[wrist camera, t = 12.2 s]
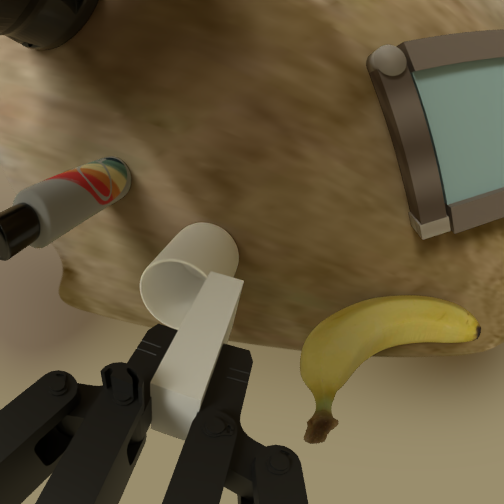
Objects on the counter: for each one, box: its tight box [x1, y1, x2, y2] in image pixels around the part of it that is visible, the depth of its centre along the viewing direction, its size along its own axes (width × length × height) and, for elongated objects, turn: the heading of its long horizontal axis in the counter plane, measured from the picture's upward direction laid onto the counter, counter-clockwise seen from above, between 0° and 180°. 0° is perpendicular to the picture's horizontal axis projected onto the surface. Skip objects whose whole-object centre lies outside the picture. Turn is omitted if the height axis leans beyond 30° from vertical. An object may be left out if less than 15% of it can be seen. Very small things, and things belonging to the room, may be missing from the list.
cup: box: [140, 222, 239, 330], centre depth 36 cm, size 8×12×10 cm
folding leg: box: [366, 45, 451, 240], centre depth 28 cm, size 19×3×4 cm, turn 22°
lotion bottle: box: [0, 157, 131, 261], centre depth 28 cm, size 6×6×20 cm
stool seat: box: [396, 30, 504, 234], centre depth 25 cm, size 20×16×4 cm
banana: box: [300, 295, 481, 444], centre depth 30 cm, size 23×6×20 cm, turn 94°
